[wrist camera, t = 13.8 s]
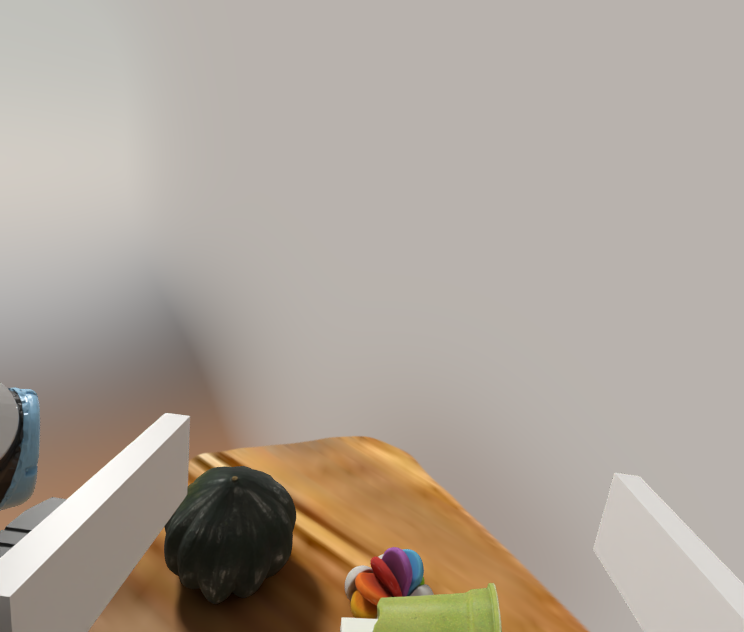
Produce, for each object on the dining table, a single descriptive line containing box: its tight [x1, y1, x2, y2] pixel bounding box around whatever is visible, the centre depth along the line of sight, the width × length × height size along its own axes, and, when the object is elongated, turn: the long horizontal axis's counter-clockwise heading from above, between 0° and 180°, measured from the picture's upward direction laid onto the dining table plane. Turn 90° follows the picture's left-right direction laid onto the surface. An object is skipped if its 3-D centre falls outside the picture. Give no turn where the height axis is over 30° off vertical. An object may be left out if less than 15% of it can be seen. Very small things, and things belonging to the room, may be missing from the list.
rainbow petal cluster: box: [345, 547, 433, 619], centre depth 50 cm, size 8×10×7 cm
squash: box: [164, 466, 296, 604], centre depth 52 cm, size 14×15×15 cm
